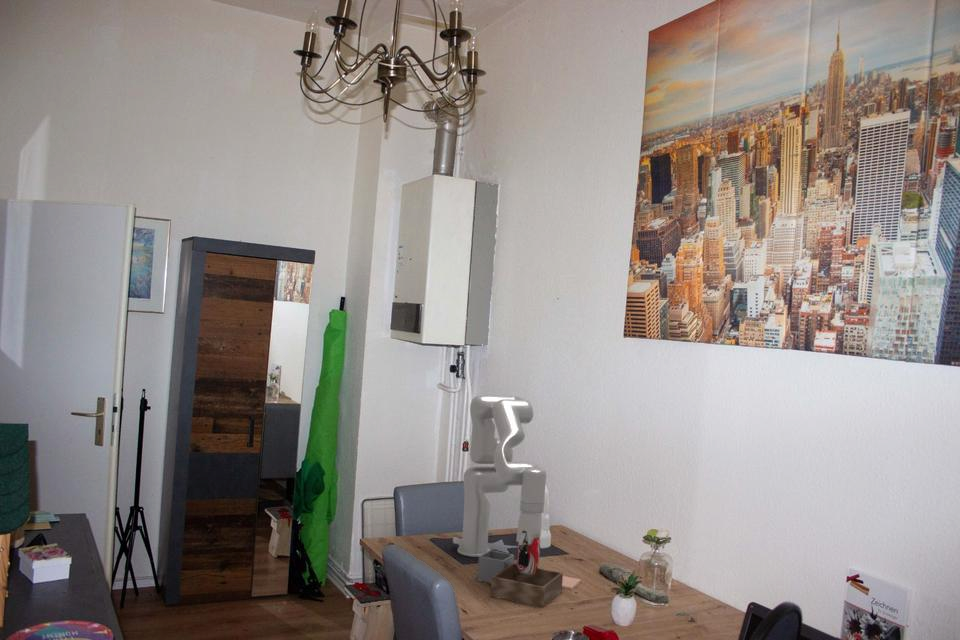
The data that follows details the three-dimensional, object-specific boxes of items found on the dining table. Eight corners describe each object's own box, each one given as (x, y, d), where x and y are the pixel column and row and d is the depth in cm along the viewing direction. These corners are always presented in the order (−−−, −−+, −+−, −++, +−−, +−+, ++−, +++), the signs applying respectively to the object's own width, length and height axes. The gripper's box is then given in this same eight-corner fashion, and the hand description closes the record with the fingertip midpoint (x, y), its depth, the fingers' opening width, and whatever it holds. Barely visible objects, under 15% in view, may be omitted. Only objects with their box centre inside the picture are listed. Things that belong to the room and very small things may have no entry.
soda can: (536, 576, 251) (539, 538, 251) (514, 573, 253) (517, 536, 252) (539, 569, 258) (542, 532, 258) (517, 566, 259) (520, 530, 259)
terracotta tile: (542, 584, 265) (543, 581, 265) (553, 576, 274) (553, 573, 274) (571, 590, 261) (572, 587, 261) (581, 581, 270) (581, 579, 270)
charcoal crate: (477, 580, 264) (478, 556, 265) (488, 573, 273) (489, 550, 273) (502, 585, 261) (503, 561, 261) (512, 578, 269) (514, 554, 269)
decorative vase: (532, 539, 320) (536, 476, 320) (555, 544, 314) (559, 480, 314) (517, 544, 312) (521, 479, 312) (540, 550, 305) (544, 484, 305)
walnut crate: (490, 596, 250) (491, 576, 250) (511, 581, 266) (513, 563, 266) (543, 607, 243) (544, 587, 243) (561, 591, 259) (562, 573, 259)
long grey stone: (649, 609, 252) (675, 608, 256) (651, 593, 251) (677, 592, 256) (590, 569, 283) (613, 569, 288) (592, 554, 283) (615, 554, 287)
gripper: (530, 499, 264) (526, 552, 265) (510, 510, 248) (506, 567, 249) (552, 503, 261) (548, 557, 262) (533, 514, 245) (528, 572, 246)
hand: (527, 561), depth 255 cm, fingers closed on soda can, 7 cm apart
